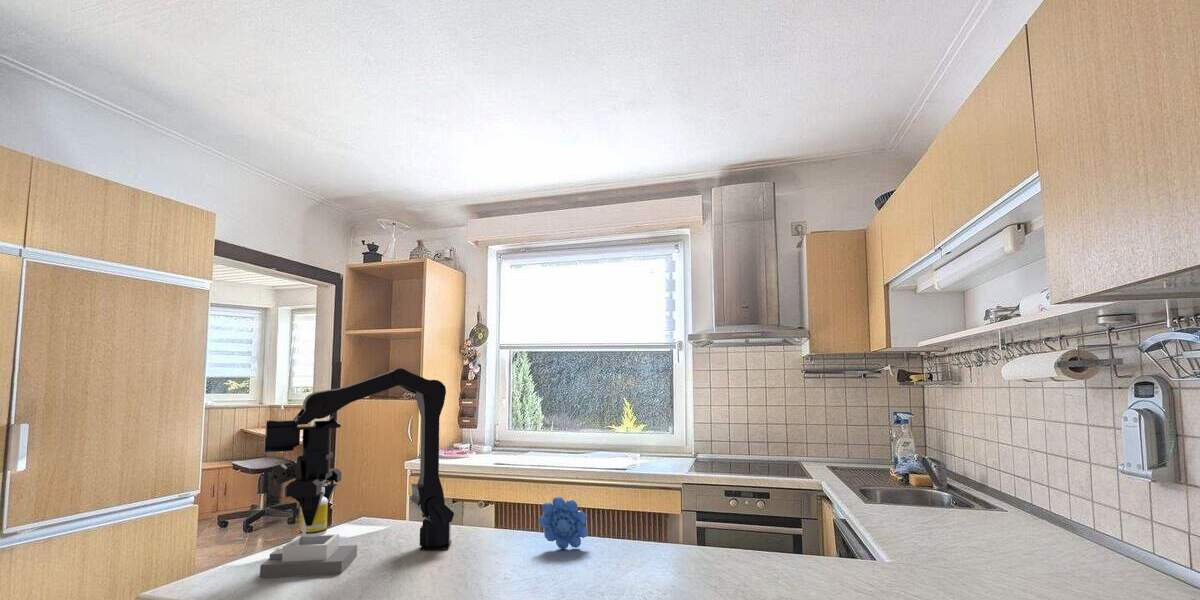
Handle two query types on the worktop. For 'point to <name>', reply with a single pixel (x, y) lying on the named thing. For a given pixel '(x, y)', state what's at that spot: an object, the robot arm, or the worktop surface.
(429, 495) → the robot arm
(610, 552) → the worktop surface
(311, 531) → the supplement bottle
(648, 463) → the worktop surface
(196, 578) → the worktop surface
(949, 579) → the worktop surface
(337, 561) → the stepped tray stack
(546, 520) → the blue flower
